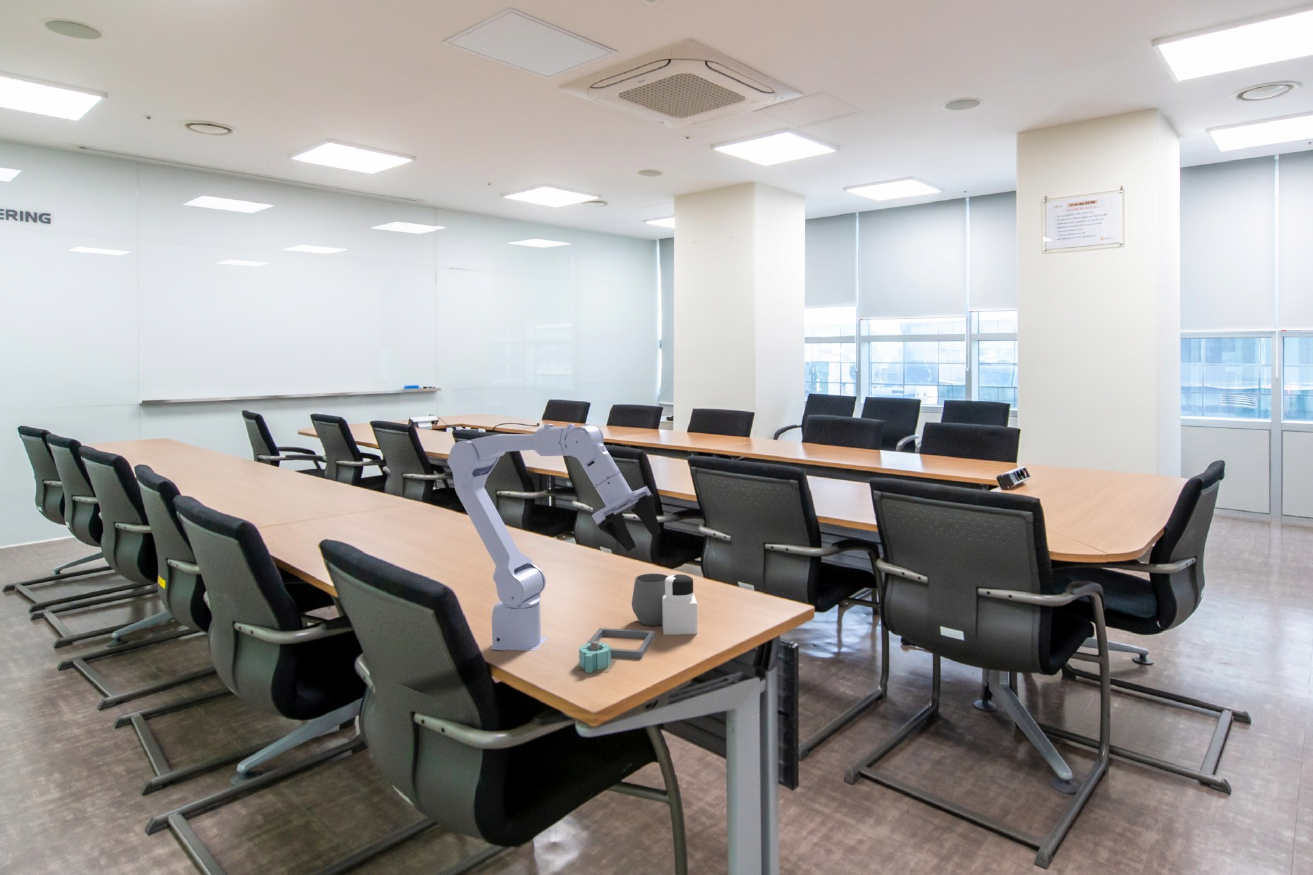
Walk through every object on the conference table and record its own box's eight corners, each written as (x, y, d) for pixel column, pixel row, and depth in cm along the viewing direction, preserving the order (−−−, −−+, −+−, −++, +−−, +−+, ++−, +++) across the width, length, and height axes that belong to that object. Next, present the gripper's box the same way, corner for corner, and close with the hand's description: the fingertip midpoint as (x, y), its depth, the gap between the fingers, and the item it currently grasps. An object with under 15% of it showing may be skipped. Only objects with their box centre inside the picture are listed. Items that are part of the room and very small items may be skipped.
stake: (571, 673, 142) (571, 648, 142) (583, 659, 149) (582, 635, 148) (607, 675, 140) (607, 650, 140) (618, 661, 147) (617, 637, 147)
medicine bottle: (694, 625, 168) (694, 571, 166) (697, 636, 160) (697, 580, 159) (662, 625, 167) (661, 572, 166) (663, 637, 160) (663, 581, 159)
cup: (637, 630, 165) (636, 585, 164) (627, 617, 174) (626, 574, 173) (679, 626, 167) (678, 581, 166) (667, 613, 176) (666, 570, 175)
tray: (582, 656, 150) (582, 648, 150) (600, 636, 162) (599, 627, 161) (641, 661, 147) (641, 652, 147) (655, 639, 159) (655, 631, 159)
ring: (585, 657, 148) (585, 641, 148) (613, 659, 147) (613, 643, 146) (574, 671, 141) (573, 654, 141) (603, 673, 140) (602, 656, 140)
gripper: (593, 484, 139) (632, 548, 137) (644, 460, 149) (680, 519, 148) (573, 499, 143) (610, 562, 142) (623, 475, 154) (658, 533, 152)
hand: (644, 541), depth 145 cm, fingers open, 7 cm apart
